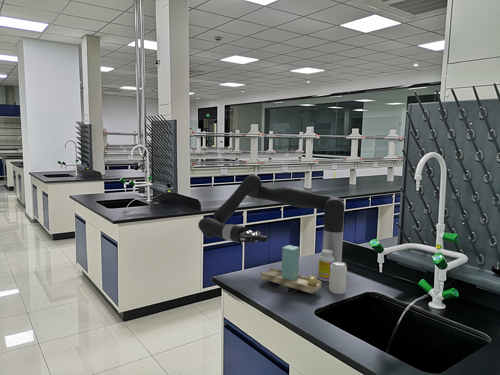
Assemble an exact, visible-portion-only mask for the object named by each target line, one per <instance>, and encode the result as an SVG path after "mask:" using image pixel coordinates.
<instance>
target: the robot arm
mask: <svg viewBox="0 0 500 375" xmlns="http://www.w3.org/2000/svg"><path fill="white" fill-rule="evenodd" d="M247 197H250V198H251V199H252V198H253V199H260V200H267V201H271V202H274V203H278V204H284V205H287V206H290V207H295V208H300V209H301V208H303V209H316V210H319V211H322V212H323V214H324V215H323V237H322V238H323V240H322V250H324V249H328V250H332V251H333V254H332V256H333V257H334V259H335V261H342V258H343V256H342V255H343V240H344V239H343V238H344V226H345V225H344V224H345V221H344V220H345V202H344V200H343V199H342V198H340V197H336V196H332V195H322V194H318V193H314V192H311V191H308V190H304V189H302V188H297V187H293V186H288V185H287V186H278V187H271V186H266V185H263V184H262V180H261V177H260V176H258V175H256V174H250V175H248V176H246V177H245V178H244V179H243V180H242V182H241V183H240V184H239V185H238V187H237V188H236V189H235V191H234V192H233V193H232V194H231V195H230V196H229V198H228V199H226V201H225V202H224V203H223V204H221V205H220V206H219V207H218V208H217V209H216V210H215V211H214V213H213V218H212V217H203V218H201V219H200V220H199V221H198V229H199V230H200V232H201V233H202V235H203V236H204V237H205V238H206V239H213V238H214V237H216V238H219V239H223V240H225V241H230V242H233V243H239V244H243V243H254V242H262V243H266V242H267V241H268V236H266V235H262V232H260V231H259V230H255V232H254V231H252V230H248V229H247V228H246V227H245V226H243V225H238V224H232V223H231V224H230V223H229V224H228V223H226V222H227V220H228V219H229V218H231V217H232V216H233V215H234V213H236V211H237V210H238V208H239V207H240V205H241V203H242V202H243V200H245V198H247Z"/></svg>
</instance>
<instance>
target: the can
mask: <svg viewBox="0 0 500 375" xmlns="http://www.w3.org/2000/svg"><path fill="white" fill-rule="evenodd" d="M347 268H348V267H347V263H346V262H344V261H343V260H341V261H332V264H331V266H330V281H329V286H328V290H329V292H330V293H331V294H335V295H343V294H345V293H346V289H347V288H346V286H347V272H348V270H347Z"/></svg>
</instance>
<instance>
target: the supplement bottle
mask: <svg viewBox="0 0 500 375" xmlns="http://www.w3.org/2000/svg"><path fill="white" fill-rule="evenodd" d="M332 254H333V251H332V250H328V249H324V250H323V249H322V250H321V255H320V256H319V258H318V274H317V276H318V277H317V279H318V280H319V281H321V282H330V266H331V264H332V261H335V259H334V257H333V256H332Z"/></svg>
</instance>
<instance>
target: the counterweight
mask: <svg viewBox="0 0 500 375" xmlns="http://www.w3.org/2000/svg"><path fill="white" fill-rule="evenodd" d="M307 277H308V286H311V287H316V286H317V280H318V277H317V276H314V275H309V276H307Z"/></svg>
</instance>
